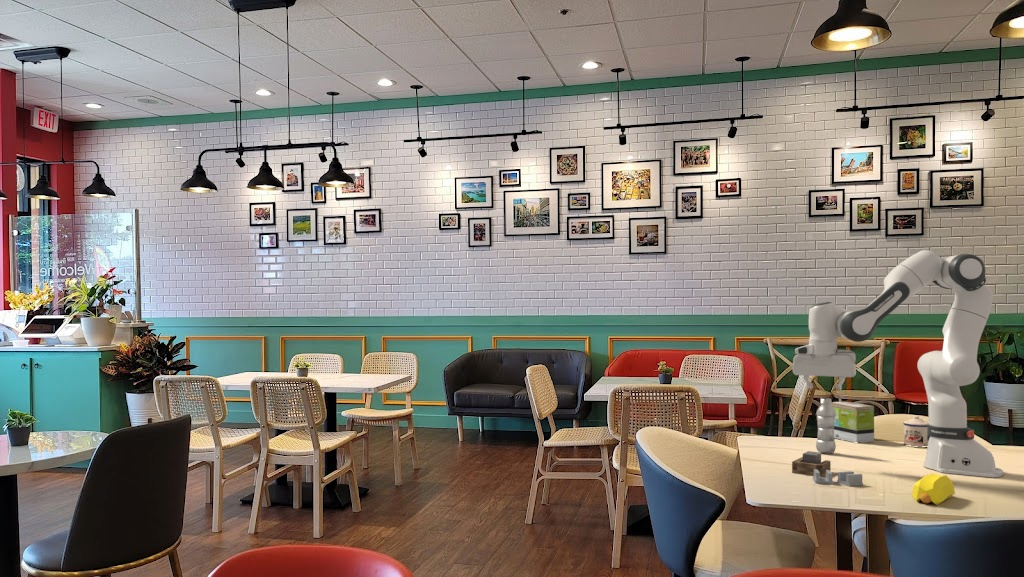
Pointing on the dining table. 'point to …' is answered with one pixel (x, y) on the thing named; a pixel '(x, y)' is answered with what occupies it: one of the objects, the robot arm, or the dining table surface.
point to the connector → (812, 457)
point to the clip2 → (822, 480)
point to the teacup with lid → (915, 432)
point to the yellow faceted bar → (933, 489)
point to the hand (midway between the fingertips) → (824, 389)
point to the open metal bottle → (825, 427)
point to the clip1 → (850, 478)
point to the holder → (810, 467)
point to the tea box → (853, 422)
